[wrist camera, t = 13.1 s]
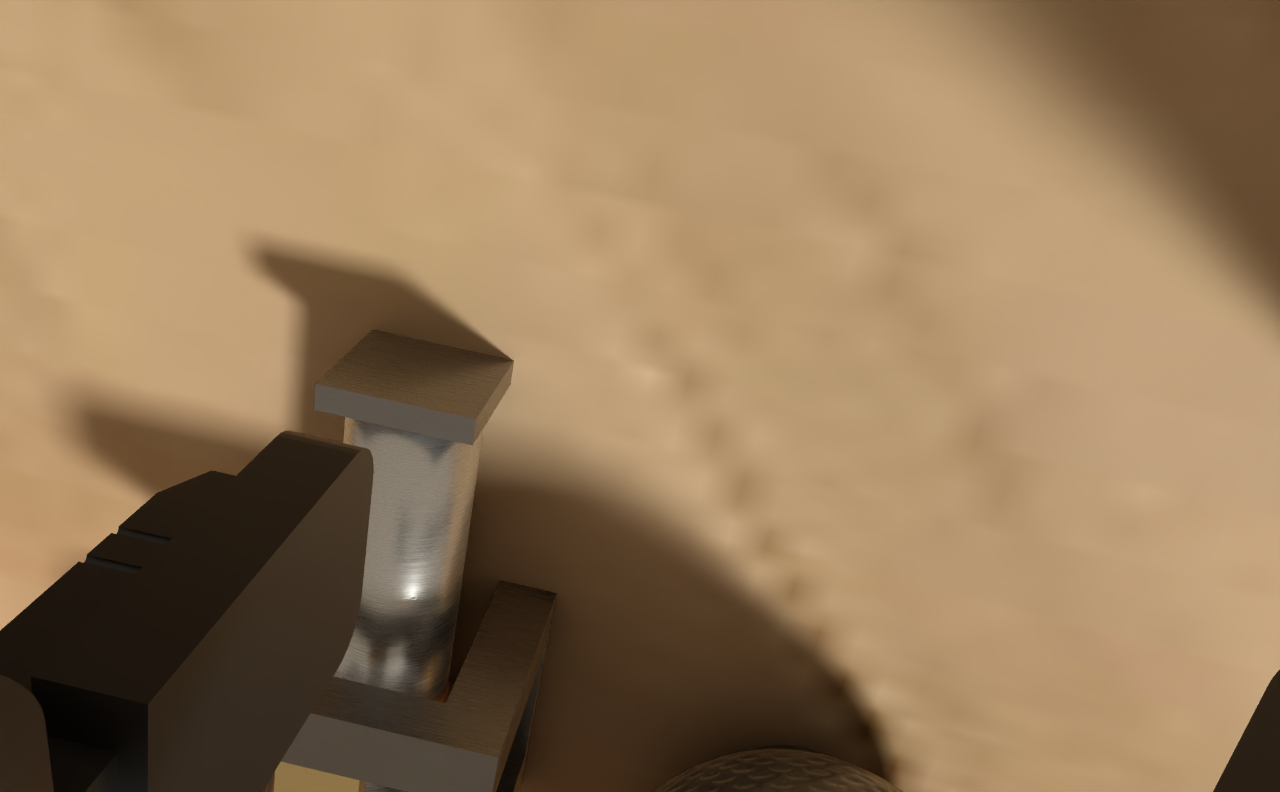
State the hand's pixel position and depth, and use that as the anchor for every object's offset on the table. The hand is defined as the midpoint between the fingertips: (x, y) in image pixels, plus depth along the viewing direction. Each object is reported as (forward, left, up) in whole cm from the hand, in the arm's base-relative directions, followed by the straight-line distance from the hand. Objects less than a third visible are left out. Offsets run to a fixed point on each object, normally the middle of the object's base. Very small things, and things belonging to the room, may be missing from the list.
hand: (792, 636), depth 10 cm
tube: (+11, +22, -30) cm, 39 cm away
